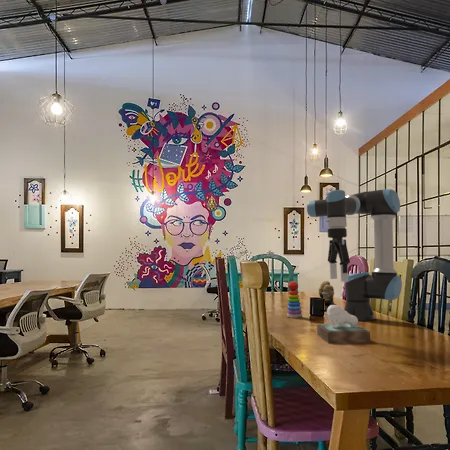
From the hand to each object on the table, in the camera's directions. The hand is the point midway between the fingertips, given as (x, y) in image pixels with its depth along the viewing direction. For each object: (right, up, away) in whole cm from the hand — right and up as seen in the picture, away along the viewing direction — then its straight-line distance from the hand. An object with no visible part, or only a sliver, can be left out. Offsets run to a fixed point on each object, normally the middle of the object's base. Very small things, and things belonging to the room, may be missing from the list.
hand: (338, 280), depth 168 cm
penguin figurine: (0, -18, -5) cm, 19 cm away
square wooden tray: (0, -22, -5) cm, 23 cm away
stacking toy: (-10, -26, +49) cm, 56 cm away
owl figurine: (+14, -28, +73) cm, 80 cm away
